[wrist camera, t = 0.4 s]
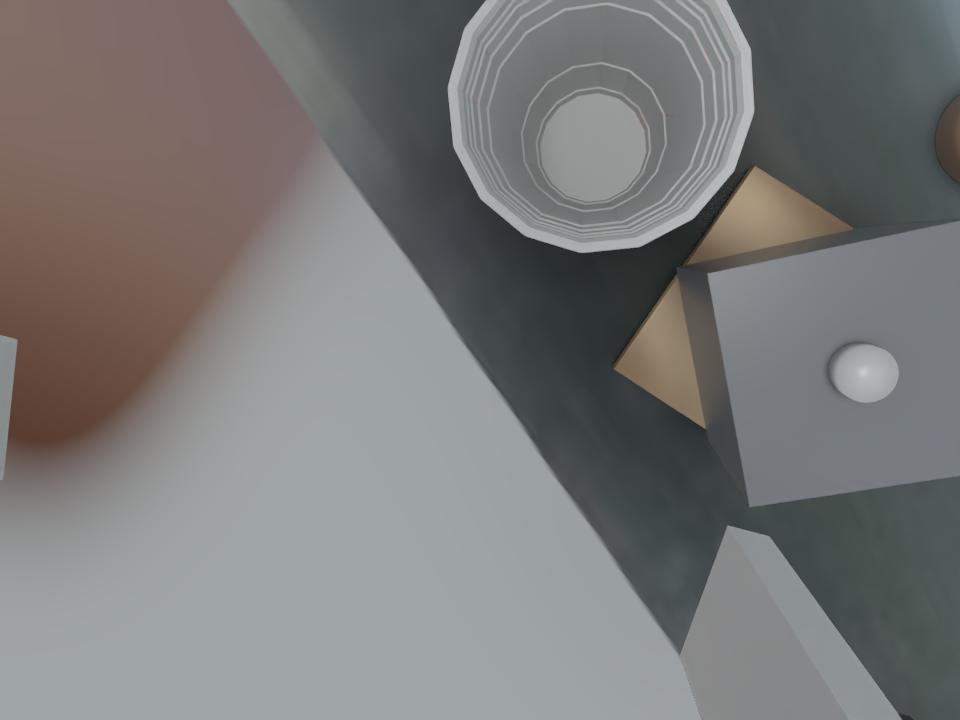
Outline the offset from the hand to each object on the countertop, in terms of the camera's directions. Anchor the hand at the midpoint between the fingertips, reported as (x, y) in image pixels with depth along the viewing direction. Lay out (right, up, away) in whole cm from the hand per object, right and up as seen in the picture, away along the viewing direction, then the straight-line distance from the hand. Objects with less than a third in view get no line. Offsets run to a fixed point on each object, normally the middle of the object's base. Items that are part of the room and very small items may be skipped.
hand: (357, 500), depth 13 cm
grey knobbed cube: (+17, +4, +23) cm, 29 cm away
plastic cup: (+8, +14, +24) cm, 29 cm away
